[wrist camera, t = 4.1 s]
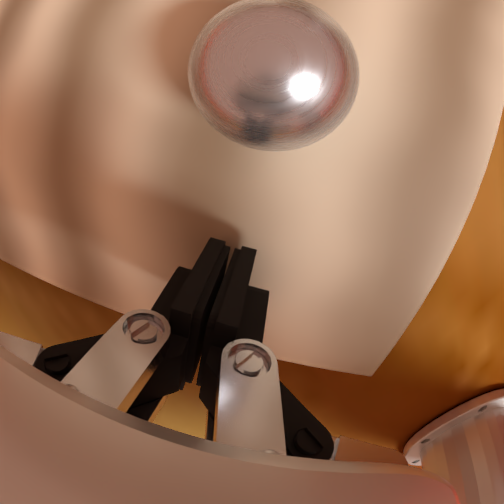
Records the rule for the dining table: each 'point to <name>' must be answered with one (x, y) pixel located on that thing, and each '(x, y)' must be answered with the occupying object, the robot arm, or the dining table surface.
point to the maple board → (246, 165)
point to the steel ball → (273, 74)
